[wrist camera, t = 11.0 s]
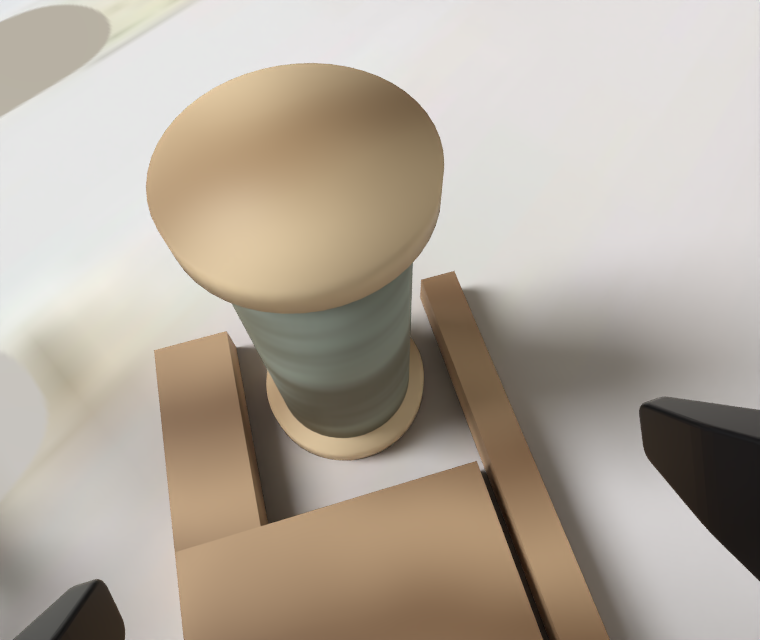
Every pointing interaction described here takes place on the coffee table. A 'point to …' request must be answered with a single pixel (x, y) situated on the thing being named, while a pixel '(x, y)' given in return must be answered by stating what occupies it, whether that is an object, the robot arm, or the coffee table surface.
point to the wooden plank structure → (364, 520)
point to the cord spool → (310, 238)
